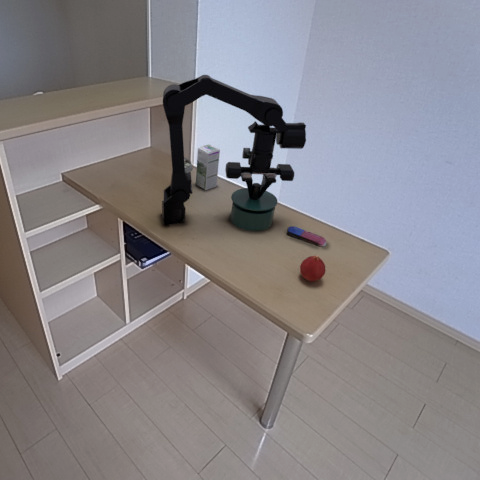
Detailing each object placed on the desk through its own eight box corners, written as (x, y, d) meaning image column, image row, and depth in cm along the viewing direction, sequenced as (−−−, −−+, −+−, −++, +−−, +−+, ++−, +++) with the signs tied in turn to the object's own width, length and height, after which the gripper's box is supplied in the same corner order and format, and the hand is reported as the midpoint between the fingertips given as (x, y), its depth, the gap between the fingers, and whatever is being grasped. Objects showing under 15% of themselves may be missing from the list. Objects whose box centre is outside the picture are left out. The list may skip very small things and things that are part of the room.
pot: (238, 234, 110) (241, 216, 106) (224, 212, 120) (227, 195, 116) (278, 230, 111) (282, 212, 108) (261, 209, 122) (264, 192, 118)
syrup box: (217, 186, 135) (221, 148, 127) (204, 191, 132) (207, 152, 124) (207, 181, 139) (210, 143, 130) (194, 184, 136) (197, 147, 128)
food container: (188, 197, 128) (190, 171, 122) (171, 196, 129) (172, 169, 123) (193, 182, 138) (194, 157, 132) (177, 180, 139) (177, 155, 133)
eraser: (327, 243, 106) (329, 238, 105) (322, 249, 103) (324, 244, 102) (289, 229, 112) (291, 224, 110) (284, 235, 109) (285, 230, 108)
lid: (240, 214, 105) (243, 197, 102) (225, 192, 116) (227, 176, 113) (284, 210, 107) (288, 193, 104) (265, 189, 118) (268, 173, 115)
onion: (293, 273, 95) (300, 248, 90) (315, 272, 95) (323, 247, 91) (302, 288, 90) (310, 263, 86) (325, 287, 91) (334, 262, 86)
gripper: (291, 138, 108) (281, 186, 117) (227, 136, 109) (221, 184, 118) (300, 153, 99) (288, 204, 108) (230, 150, 100) (223, 201, 109)
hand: (254, 197), depth 111 cm, fingers closed on lid, 2 cm apart
